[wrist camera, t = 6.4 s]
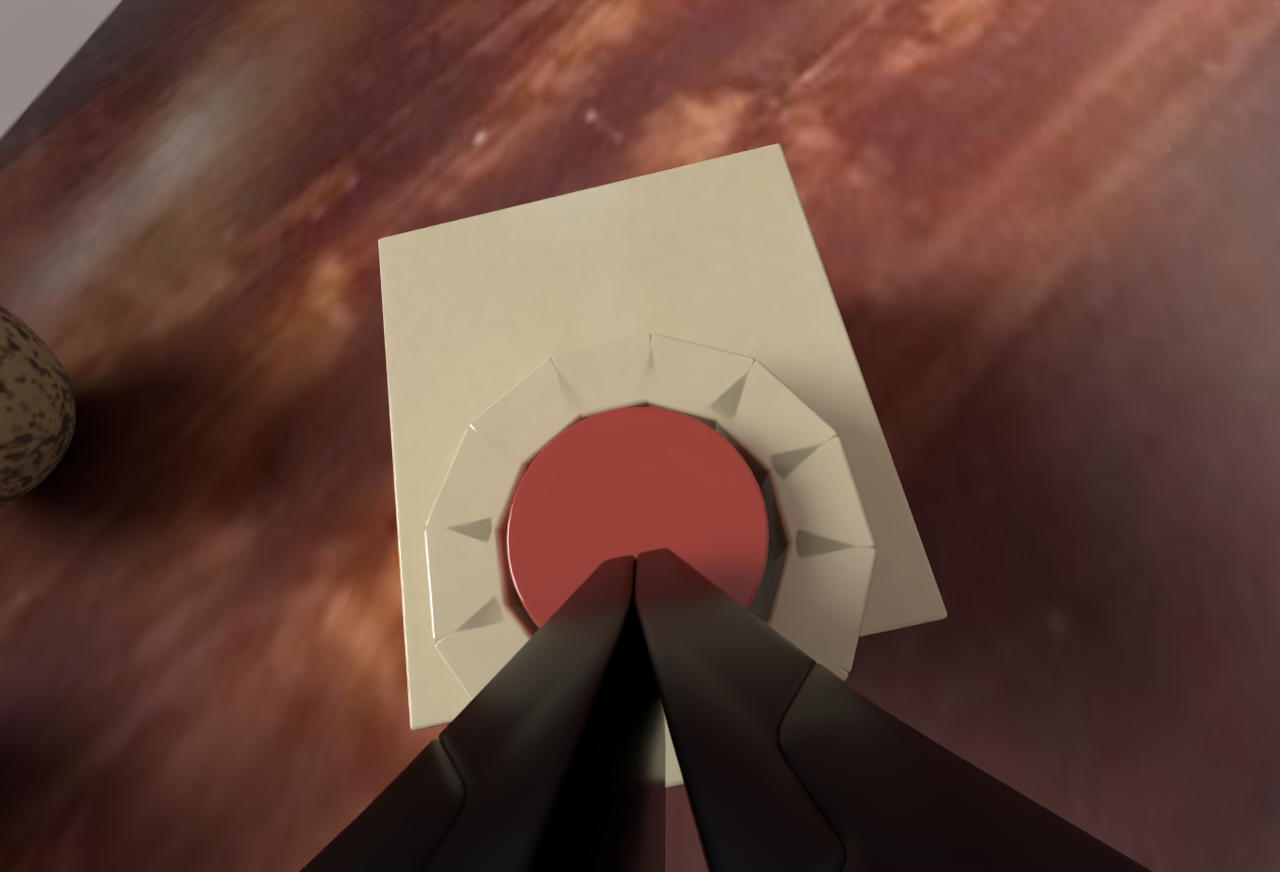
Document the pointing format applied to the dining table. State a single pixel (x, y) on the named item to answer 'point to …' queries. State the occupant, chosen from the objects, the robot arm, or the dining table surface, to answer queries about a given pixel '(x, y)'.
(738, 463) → the red push button
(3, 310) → the decorative egg
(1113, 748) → the dining table surface
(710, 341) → the button base
